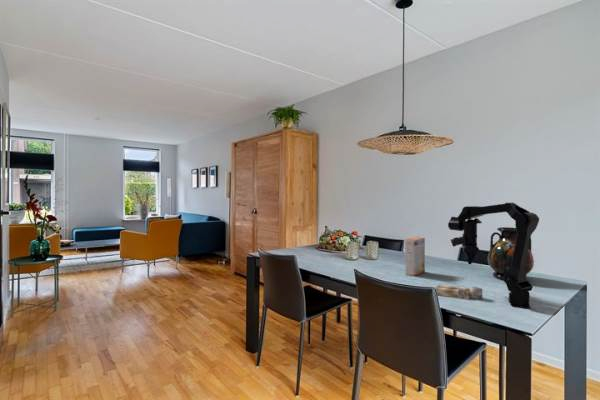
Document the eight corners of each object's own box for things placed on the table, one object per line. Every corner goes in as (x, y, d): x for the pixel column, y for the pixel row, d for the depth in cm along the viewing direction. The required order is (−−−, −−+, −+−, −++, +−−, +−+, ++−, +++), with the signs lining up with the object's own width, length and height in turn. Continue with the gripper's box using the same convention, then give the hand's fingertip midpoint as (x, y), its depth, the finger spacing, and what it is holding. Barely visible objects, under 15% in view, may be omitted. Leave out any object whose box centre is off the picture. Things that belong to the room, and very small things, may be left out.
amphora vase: (488, 280, 174) (489, 229, 173) (486, 271, 193) (487, 225, 192) (537, 286, 164) (538, 231, 163) (529, 276, 183) (530, 227, 182)
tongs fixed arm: (468, 297, 146) (468, 289, 146) (468, 299, 143) (469, 291, 143) (435, 293, 152) (435, 285, 152) (435, 294, 149) (435, 287, 149)
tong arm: (481, 296, 146) (481, 287, 146) (482, 299, 142) (483, 290, 141) (437, 291, 154) (437, 282, 154) (437, 294, 149) (437, 285, 149)
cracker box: (415, 270, 196) (415, 236, 195) (425, 272, 191) (425, 237, 191) (404, 274, 186) (404, 238, 185) (414, 276, 182) (414, 239, 181)
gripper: (451, 229, 167) (451, 259, 167) (452, 233, 150) (451, 266, 150) (475, 230, 162) (475, 261, 163) (479, 234, 145) (478, 268, 146)
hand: (469, 264), depth 155 cm, fingers closed
